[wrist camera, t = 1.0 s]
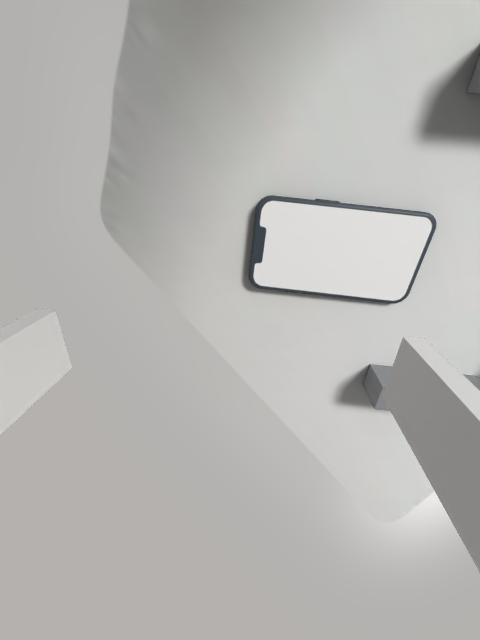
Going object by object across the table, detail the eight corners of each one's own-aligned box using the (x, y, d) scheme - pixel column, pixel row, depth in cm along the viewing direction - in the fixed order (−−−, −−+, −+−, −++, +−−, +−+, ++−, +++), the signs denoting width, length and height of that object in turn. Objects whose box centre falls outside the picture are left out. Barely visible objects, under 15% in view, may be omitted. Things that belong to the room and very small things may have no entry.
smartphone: (433, 211, 25) (258, 192, 25) (443, 213, 23) (258, 193, 23) (397, 300, 29) (247, 283, 29) (405, 306, 27) (247, 288, 28)
